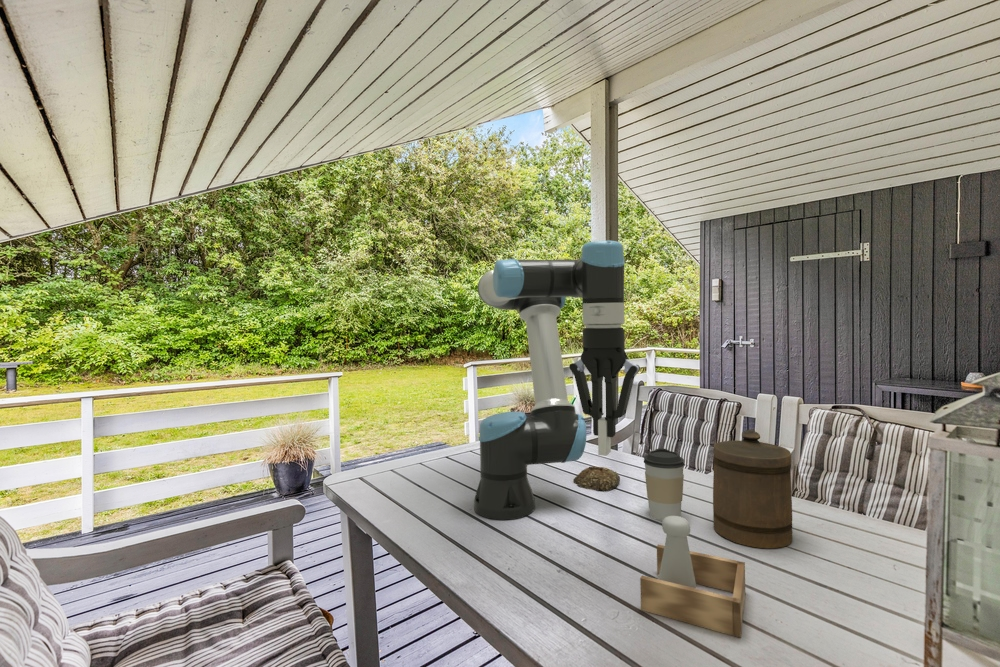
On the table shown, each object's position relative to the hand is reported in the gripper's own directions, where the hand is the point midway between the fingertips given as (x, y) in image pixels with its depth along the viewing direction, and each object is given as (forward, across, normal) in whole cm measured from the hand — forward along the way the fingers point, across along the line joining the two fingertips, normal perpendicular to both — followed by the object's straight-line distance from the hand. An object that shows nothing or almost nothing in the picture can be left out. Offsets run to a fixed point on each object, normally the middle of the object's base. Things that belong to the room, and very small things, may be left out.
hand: (604, 453), depth 87 cm
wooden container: (+22, +23, +28) cm, 42 cm away
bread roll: (+23, -17, +44) cm, 52 cm away
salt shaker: (+21, +14, -5) cm, 25 cm away
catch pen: (+21, +16, -4) cm, 27 cm away
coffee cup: (+22, +5, +29) cm, 36 cm away
